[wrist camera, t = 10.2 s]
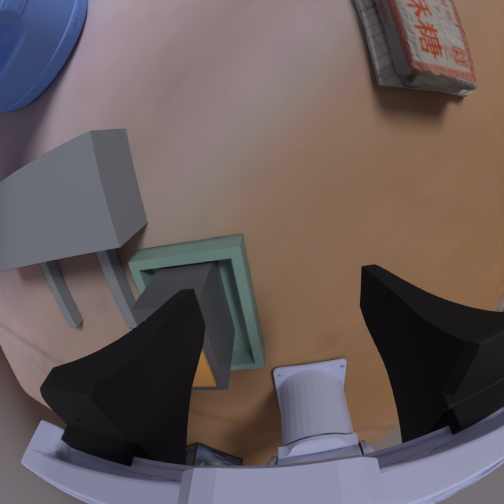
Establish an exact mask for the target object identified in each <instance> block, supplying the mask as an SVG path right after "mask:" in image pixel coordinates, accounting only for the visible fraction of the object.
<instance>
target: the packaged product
mask: <svg viewBox="0 0 504 504" xmlns="http://www.w3.org/2000/svg"><path fill="white" fill-rule="evenodd" d="M354 2H355V5H356V8H357V10H358V14H359V16H360V19H361V21H362V24H363V26H364V29H365V34H366V39H367V43H368V48H369V51H370V55H371V59H372V64H373V68H374V72H375V76H376V80H377V85H378V86H388V87H398V88H406V89H414V90H427V91H437V92H442V93H448V94H452V95H457V96H461V97H466V96H467V95H468V94H470V93H471V92H472V90H475V89H476V88H477V83H476V78H475V74H474V67H473V62H472V59H471V53H470V52H469V48H468V44H467V40H466V37H465V33H464V31H463V28H462V25H461V21H460V18H459V16H458V13H457V10H456V7H455V5H454V3H453V1H452V0H354Z"/></svg>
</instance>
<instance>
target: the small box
mask: <svg viewBox="0 0 504 504" xmlns="http://www.w3.org/2000/svg"><path fill="white" fill-rule="evenodd" d="M242 462H243V459H240V458H237V457H234V456H231V455H228V454H226V453H223V452H220V451H218V450H215V449H213V448H210V447H208V446H206V445H203V444H201V443H199V442H198V443H194V444H192V445H189V446H186V465H188V466H211V465H225V466H242Z"/></svg>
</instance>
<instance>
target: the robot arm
mask: <svg viewBox="0 0 504 504" xmlns="http://www.w3.org/2000/svg"><path fill="white" fill-rule="evenodd" d="M360 308H361V311H362V314H363V317H364V320H365V323H366V326H367V328H368V330H369V332H370V334H371V336H372V338H373V341H374V343H375V345H376V347H377V349H378V351H379V353H380V355H381V358H382V360H383V362H384V365H385V367H386V370H387V373H388V376H389V380H390V383H391V387H392V390H393V394H394V399H395V403H396V407H397V412H398V418H399V423H400V430H401V437H402V444H399V445H396V446H392V447H389V448H386V449H382V450H379V451H375V452H374V449H373V447H372V445H371V444H370V443H368V442H366V441H365V440H362V441H359V442H358V438H357V434H356V433H353V429H352V424H351V420H350V415H349V411H348V406H347V402H346V398H345V394H344V390H343V388H344V380H345V371H346V360H345V359H344V358H342V359H336V360H330V361H324V362H318V363H311V364H304V365H296V366H288V367H279V368H275V369H274V370H273V375H274V380H275V386H276V391H277V396H278V402H279V407H280V412H281V435H282V447H278V456H273V457H271V458H270V460H269V461H268V462H267V464H266V465H261V466H225V465H211V466H188V465H186V439H187V423H188V412H189V404H190V396H191V390H192V385H193V381H194V378H195V374H196V370H197V366H198V363H199V359H200V355H201V352H202V348H203V344H204V336H205V327H206V324H205V322H204V319H203V316H202V313H201V309H200V306H199V303H198V300H197V297H196V294H195V291H194V288H193V289H183V290H180V291H178V292H177V293H176V294H175V295H173V296H172V297H171V298H170V299H169V300H168V301H166V302H165V303H164V304H163V305H162V306H161V307H160V308H158V309H157V310H156V311H155V312H154V313H153V314H152V315H150V316H149V317H148V318H147V319H145V320H144V321H143V322H142V323H141V324H139V325H138V326H137V327H136V328H134V329H133V330H131V331H130V332H129V333H127V334H126V335H124V336H123V337H121V338H120V339H118V340H116V341H115V342H113V343H111V344H109V345H108V346H106V347H104V348H102V349H100V350H99V351H97V352H94V353H92V354H90V355H88V356H85V357H83V358H81V359H78V360H76V361H73V362H70V363H67V364H63V365H60V366H57V367H54V368H53V369H52V370H51V372H50V373H49V375H48V376H47V378H46V379H45V381H44V382H43V384H42V385H41V387H40V392H41V395H42V397H43V399H44V400H45V402H46V403H47V404H48V405H49V407H50V408H51V409H52V410H53V411H54V412H55V413H56V414H57V415H58V416H59V417H60V418H61V419H62V420H63V421H64V422H65V423H66V424H67V428H66V429H65V430H64V429H62V428H60V427H58V426H57V425H54V424H51V423H49V422H47V421H44V420H41V422H40V424H39V426H38V428H37V430H36V432H35V434H34V435H33V437H32V440H31V441H30V444H29V446H28V448H27V450H26V452H25V454H24V456H23V458H22V461H21V462H22V464H23V465H24V466H26V467H27V468H28V469H30V470H31V471H33V472H34V473H35V474H37V475H38V476H40V477H42V478H43V479H44V480H46V481H47V482H49V483H50V484H52V485H54V486H55V487H57V488H59V489H60V490H62V491H64V492H66V493H68V494H70V495H72V496H74V497H76V498H78V499H80V500H82V501H84V502H86V503H88V504H435V503H438V502H440V501H441V500H444V499H446V498H448V497H450V496H452V495H454V494H455V493H457V492H459V491H461V490H463V489H464V488H466V487H468V486H470V485H471V484H473V483H474V482H476V481H478V480H479V479H481V478H483V477H484V476H485V475H487V474H489V473H490V472H492V471H493V470H495V469H496V468H497V467H499V466H500V465H501V464H503V463H504V312H495V311H487V310H482V309H477V308H472V307H468V306H464V305H461V304H457V303H454V302H451V301H448V300H445V299H443V298H440V297H438V296H435V295H433V294H430V293H428V292H426V291H424V290H422V289H420V288H418V287H416V286H414V285H412V284H410V283H408V282H407V281H405V280H403V279H401V278H399V277H398V276H396V275H394V274H392V273H391V272H389V271H387V270H385V269H383V268H381V267H380V266H377V265H375V264H374V265H367V266H362V271H361V295H360ZM277 374H279V375H277Z"/></svg>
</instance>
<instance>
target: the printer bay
mask: <svg viewBox="0 0 504 504" xmlns="http://www.w3.org/2000/svg"><path fill="white" fill-rule="evenodd" d="M147 223H148V222H147V219H146V215H145V211H144V208H143V204H142V200H141V196H140V192H139V188H138V184H137V180H136V176H135V172H134V167H133V163H132V158H131V154H130V149H129V144H128V139H127V134H126V129H110V130H95V131H89V132H87V133H85V134H82V135H80V136H78V137H76V138H74V139H72V140H70V141H68V142H66V143H64V144H62V145H60V146H58V147H56V148H54V149H53V150H51V151H49V152H47V153H45V154H44V155H42V156H40V157H38V158H37V159H35V160H33V161H32V162H30V163H28V164H27V165H25V166H23V167H22V168H20V169H19V170H17V171H16V172H14V173H13V174H11V175H10V176H8V177H7V178H5V179H4V180H2V181H1V182H0V272H1V271H5V270H9V269H14V268H19V267H23V266H28V265H32V264H37V263H39V264H40V266H41V269H42V271H43V273H44V276H45V278H46V280H47V282H48V285H49V287H50V289H51V291H52V293H53V295H54V297H55V299H56V301H57V303H58V305H59V307H60V309H61V311H62V313H63V315H64V317H65V319H66V320H67V322H68V324H69V326H70V327H72V328H77V327H78V326H79V325H80V323H81V322H82V321H83V319H82V317H81V315H80V313H79V311H78V309H77V307H76V305H75V303H74V301H73V299H72V297H71V295H70V293H69V291H68V289H67V286H66V284H65V282H64V280H63V277H62V275H61V273H60V270H59V268H58V266H57V263H56V261H55V260H57V259H61V258H66V257H72V256H77V255H82V254H87V253H92V252H96V255H97V258H98V260H99V263H100V266H101V268H102V271H103V273H104V276H105V278H106V280H107V283H108V285H109V288H110V290H111V292H112V295H113V297H114V299H115V301H116V303H117V306H118V308H119V310H120V312H121V314H122V316H123V318H124V320H125V322H126V324H127V327H128V328H136V327H137V326H138V323H137V321H136V319H135V317H134V314H133V312H132V310H131V309H132V308H133V306H134V305H135V303H136V301H135V299H134V296H133V294H132V291H131V289H130V287H129V284H128V282H127V279H126V276H125V274H124V271H123V269H122V266H121V263H120V260H119V258H118V255H117V252H116V249H115V248H119V247H121V246H122V245H123V244H125V243H126V242H127V241H128V240H129V239H130V238H131V237H132V236H133V235H134V234H136V233H137V232H138V231H139V230H140V229H141V228H142V227H143V226H145V225H146V224H147Z"/></svg>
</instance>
